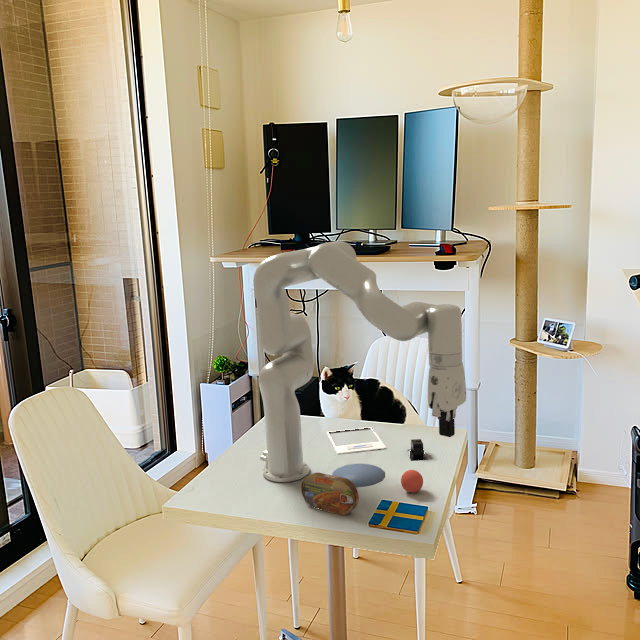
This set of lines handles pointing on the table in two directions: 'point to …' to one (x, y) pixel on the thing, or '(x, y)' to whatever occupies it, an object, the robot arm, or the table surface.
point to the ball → (412, 481)
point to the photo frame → (357, 445)
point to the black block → (417, 450)
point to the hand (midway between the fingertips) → (446, 434)
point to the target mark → (360, 474)
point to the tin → (330, 493)
